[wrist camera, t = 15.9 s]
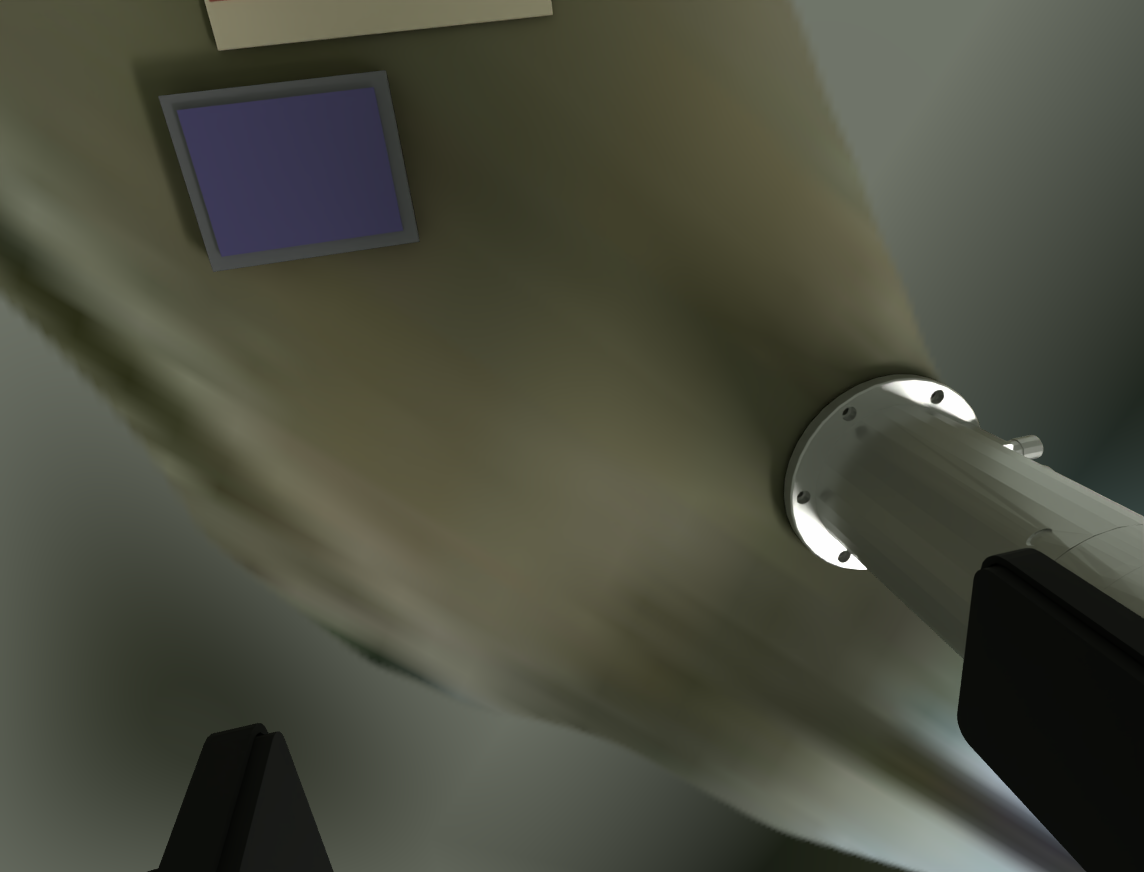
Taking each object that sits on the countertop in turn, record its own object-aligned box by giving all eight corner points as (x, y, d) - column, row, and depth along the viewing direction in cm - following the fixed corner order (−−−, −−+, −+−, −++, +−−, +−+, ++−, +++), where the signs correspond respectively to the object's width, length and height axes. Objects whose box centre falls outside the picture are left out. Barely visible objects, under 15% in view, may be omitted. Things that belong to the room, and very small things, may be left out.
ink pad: (386, 73, 31) (385, 69, 29) (419, 238, 34) (419, 242, 32) (167, 98, 30) (155, 95, 28) (220, 267, 32) (211, 272, 31)
